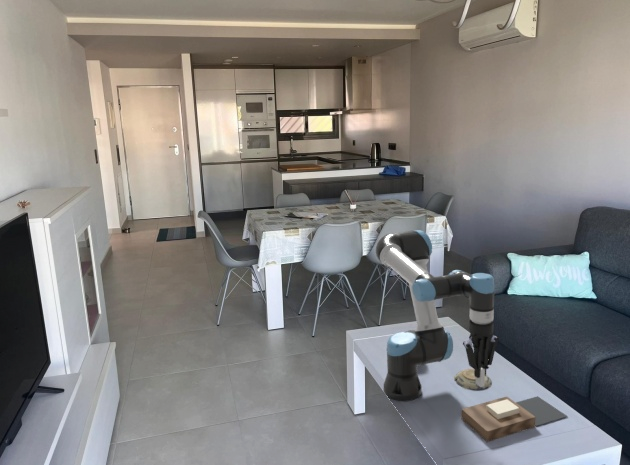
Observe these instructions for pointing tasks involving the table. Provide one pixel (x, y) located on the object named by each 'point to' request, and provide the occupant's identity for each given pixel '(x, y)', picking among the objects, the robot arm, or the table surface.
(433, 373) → the table surface
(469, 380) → the decorative bowl
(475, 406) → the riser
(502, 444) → the table surface
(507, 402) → the tile
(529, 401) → the mat
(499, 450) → the table surface
